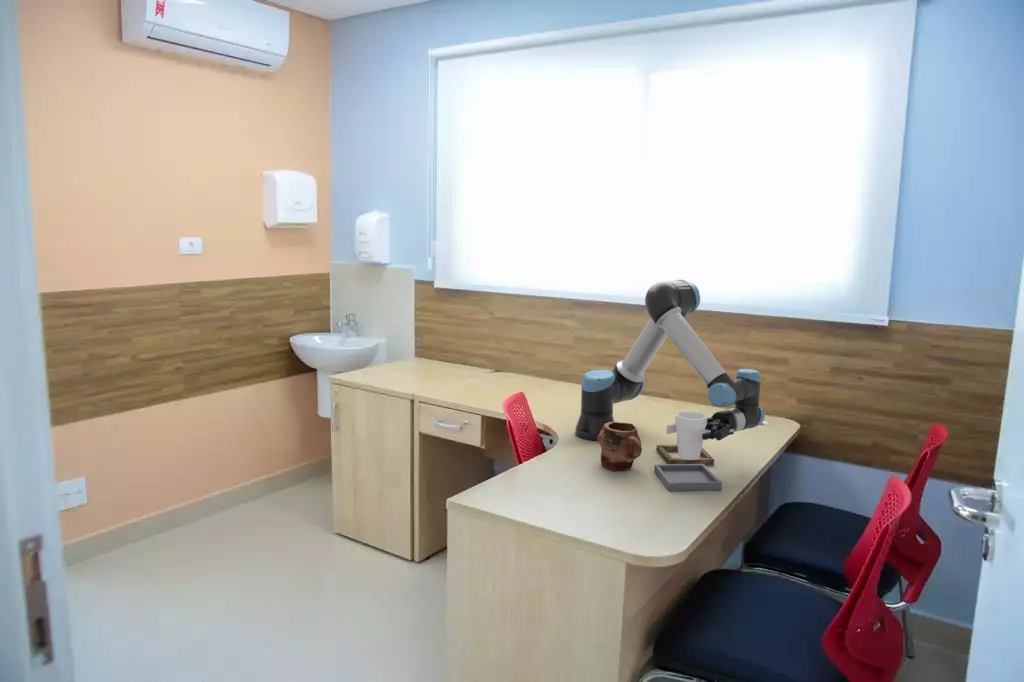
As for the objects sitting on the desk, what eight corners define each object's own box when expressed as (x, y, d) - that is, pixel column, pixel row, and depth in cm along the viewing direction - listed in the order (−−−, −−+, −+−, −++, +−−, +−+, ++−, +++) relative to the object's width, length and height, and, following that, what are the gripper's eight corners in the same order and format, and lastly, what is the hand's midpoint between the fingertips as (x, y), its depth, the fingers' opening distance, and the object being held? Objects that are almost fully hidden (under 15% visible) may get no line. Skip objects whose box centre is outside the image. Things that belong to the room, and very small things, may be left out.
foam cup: (705, 462, 215) (707, 420, 213) (673, 460, 217) (675, 418, 215) (703, 452, 225) (706, 412, 222) (673, 450, 226) (675, 410, 224)
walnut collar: (668, 465, 236) (669, 459, 235) (656, 450, 250) (656, 445, 250) (713, 465, 237) (714, 459, 236) (698, 450, 251) (698, 444, 251)
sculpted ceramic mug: (656, 474, 228) (658, 431, 225) (627, 481, 221) (629, 437, 219) (613, 455, 244) (615, 415, 242) (585, 462, 237) (587, 421, 235)
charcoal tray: (668, 491, 214) (669, 483, 213) (654, 471, 230) (654, 464, 229) (721, 490, 215) (721, 482, 215) (703, 471, 231) (703, 463, 230)
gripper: (756, 442, 222) (709, 455, 209) (698, 424, 239) (652, 436, 226) (758, 418, 221) (711, 430, 207) (700, 402, 238) (653, 413, 225)
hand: (680, 433), depth 217 cm, fingers closed on foam cup, 9 cm apart
